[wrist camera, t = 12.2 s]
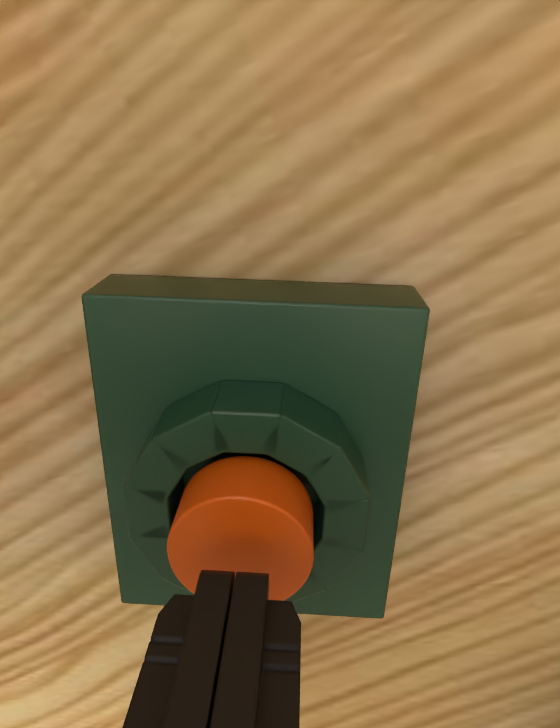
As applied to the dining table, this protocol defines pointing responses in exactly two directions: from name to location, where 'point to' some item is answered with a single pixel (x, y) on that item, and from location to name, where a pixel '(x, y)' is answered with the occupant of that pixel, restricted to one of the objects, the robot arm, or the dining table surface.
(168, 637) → the robot arm
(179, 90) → the dining table surface
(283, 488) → the button
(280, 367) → the button box
